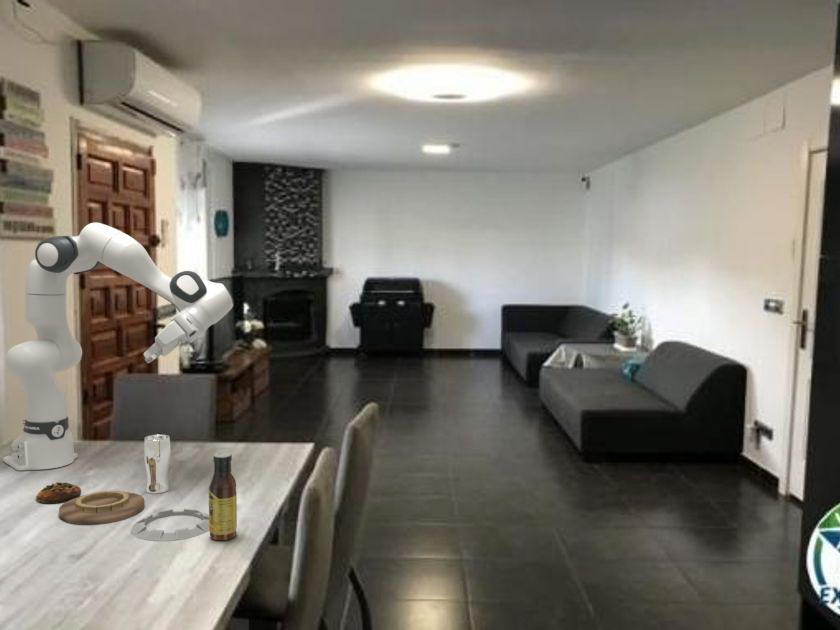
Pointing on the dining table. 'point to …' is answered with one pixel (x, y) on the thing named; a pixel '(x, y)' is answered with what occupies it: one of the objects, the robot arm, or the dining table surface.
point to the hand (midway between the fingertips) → (145, 359)
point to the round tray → (101, 517)
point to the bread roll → (58, 493)
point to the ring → (180, 534)
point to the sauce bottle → (222, 499)
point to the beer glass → (157, 462)
